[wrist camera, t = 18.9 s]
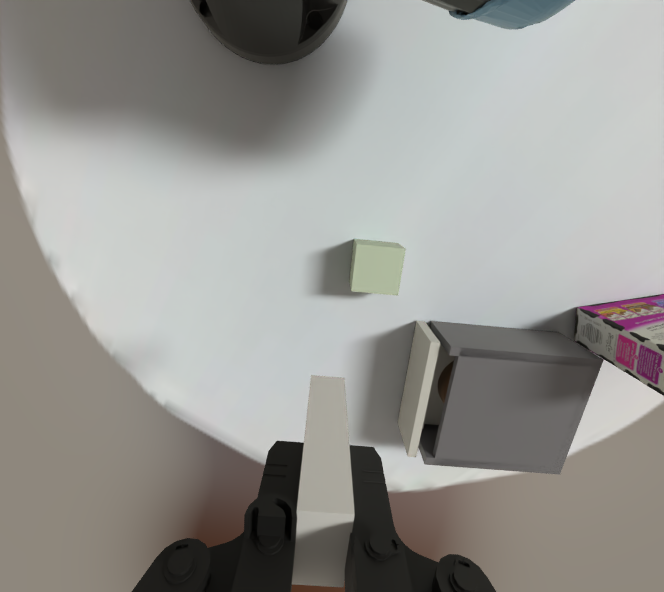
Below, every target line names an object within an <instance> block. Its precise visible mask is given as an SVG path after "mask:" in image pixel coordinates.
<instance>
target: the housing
mask: <svg viewBox="0 0 664 592" xmlns="http://www.w3.org/2000/svg"><path fill="white" fill-rule="evenodd" d="M430 329H431V331H432V332H433V334H434V335H435V336H436V338H437V339H438V340H439V342H440V344H441V345H442V346H443V348H444V349H445V350H446V352H447V353H448V354H449V355H451V356H455V359H454V363H453V367H452V372H451V376H450V380H449V385H448V389H447V393H446V398H445V402H444V406H443V411H442V415H441V419H440V424H439V425H432V424H424V428H423V429H422V432H421V436H420V441H419V446H418V447H419V449H420V452H421V455H422V458H423V461H424V464H427V465H440V466H454V467H467V468H481V469H494V470H508V471H521V472H536V473H548V474H549V473H550V474H560V472H561V470H562V467H563V464H564V462H565V459H566V457H567V454H568V452H569V449H570V446H571V444H572V441H573V438H574V436H575V433H576V431H577V428H578V425H579V423H580V420H581V417H582V415H583V412H584V410H585V407H586V404H587V402H588V399H589V397H590V394H591V391H592V389H593V386H594V383H595V381H596V378H597V376H598V373H599V370H600V368H601V365H602V362H603V359H602V358H600V357H598V356H597V355H595V354H593V353H592V352H590V351H588V350H587V349H585V348H583V347H582V346H580V345H578V344H577V343H575V342H574V341H572V340H570V339H569V338H567V337H565V336H564V335H562V334H560V333H559V332H549V331H537V330H526V329H515V328H504V327H492V326H481V325H470V324H459V323H447V322H436V321H431V324H430Z"/></svg>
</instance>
